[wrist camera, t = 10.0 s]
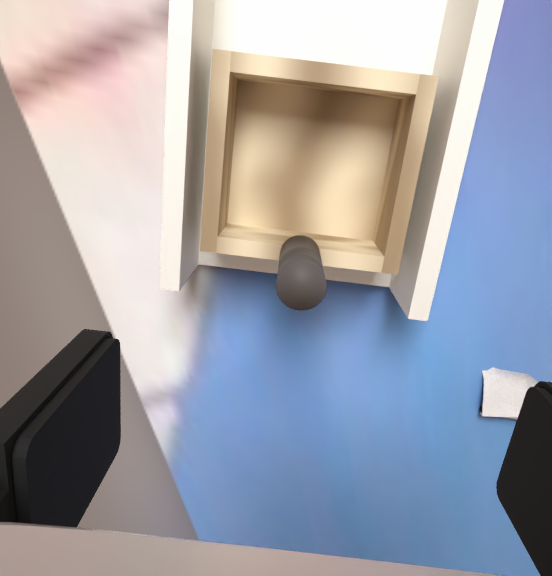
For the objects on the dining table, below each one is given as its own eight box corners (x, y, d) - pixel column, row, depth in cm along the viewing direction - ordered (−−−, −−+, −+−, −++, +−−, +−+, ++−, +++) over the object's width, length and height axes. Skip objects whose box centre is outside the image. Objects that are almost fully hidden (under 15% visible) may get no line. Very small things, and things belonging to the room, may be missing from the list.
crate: (415, 85, 29) (483, 60, 19) (380, 263, 33) (420, 324, 23) (225, 61, 29) (187, 24, 19) (212, 243, 33) (175, 295, 23)
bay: (503, -190, 26) (575, -301, 19) (402, 284, 35) (427, 321, 28) (210, -226, 26) (181, -350, 19) (184, 258, 35) (159, 288, 28)
